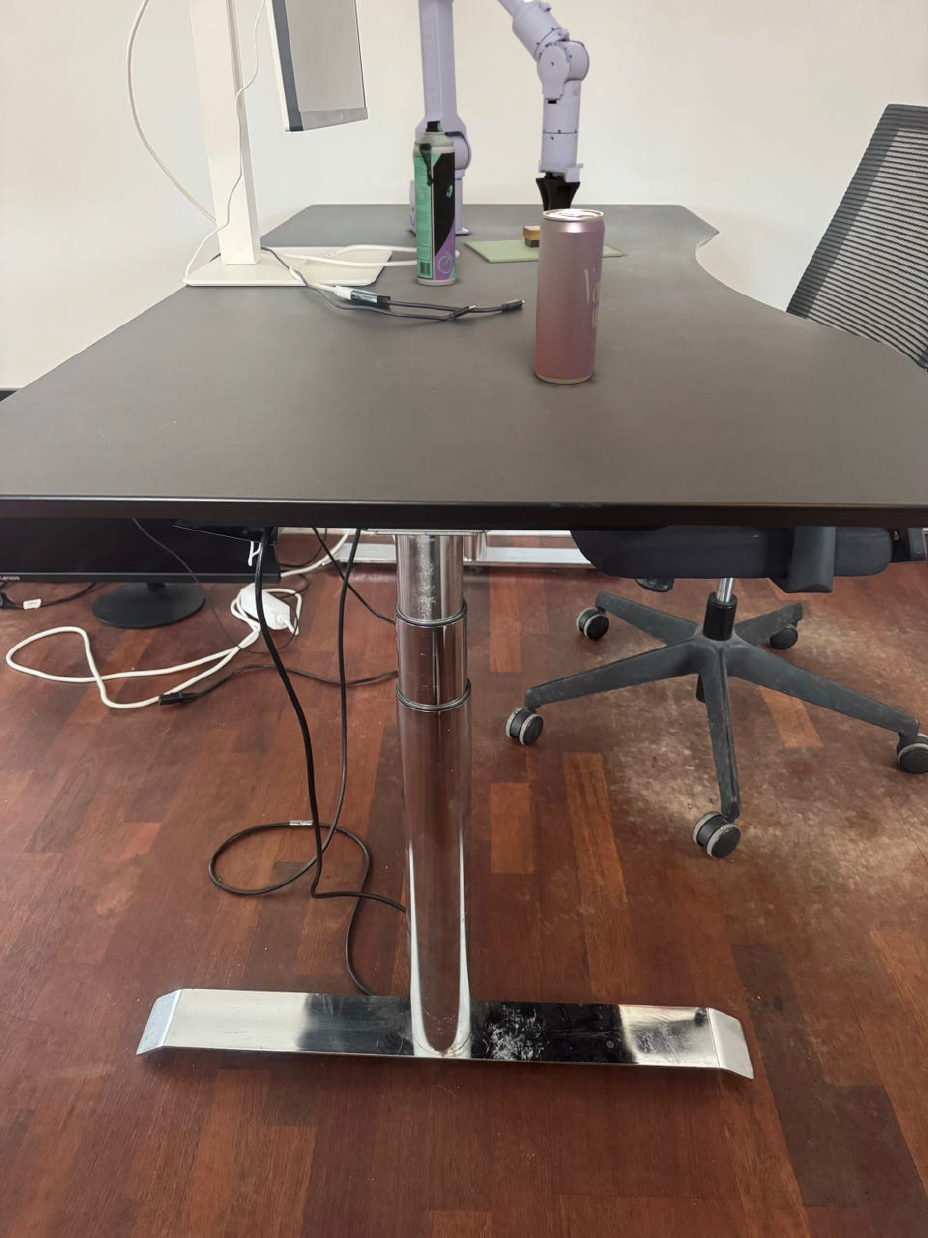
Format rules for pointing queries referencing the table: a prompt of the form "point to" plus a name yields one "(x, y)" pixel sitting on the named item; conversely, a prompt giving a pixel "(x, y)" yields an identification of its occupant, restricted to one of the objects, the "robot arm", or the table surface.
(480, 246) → the mat
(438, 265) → the spray can
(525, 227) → the brush
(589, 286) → the beverage can
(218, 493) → the table surface
